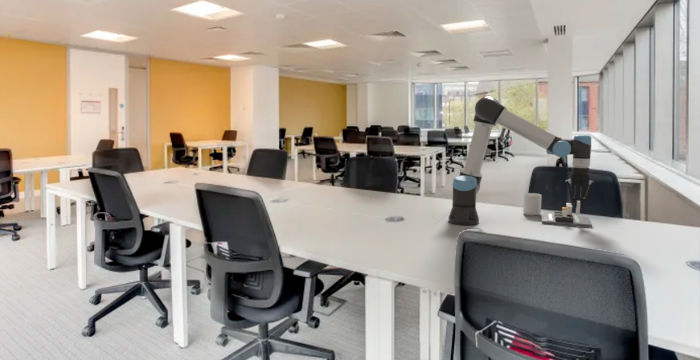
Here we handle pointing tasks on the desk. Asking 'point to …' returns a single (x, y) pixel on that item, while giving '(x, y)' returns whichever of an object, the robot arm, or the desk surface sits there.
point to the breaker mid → (569, 210)
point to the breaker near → (564, 211)
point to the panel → (581, 218)
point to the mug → (532, 204)
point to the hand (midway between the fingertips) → (577, 214)
